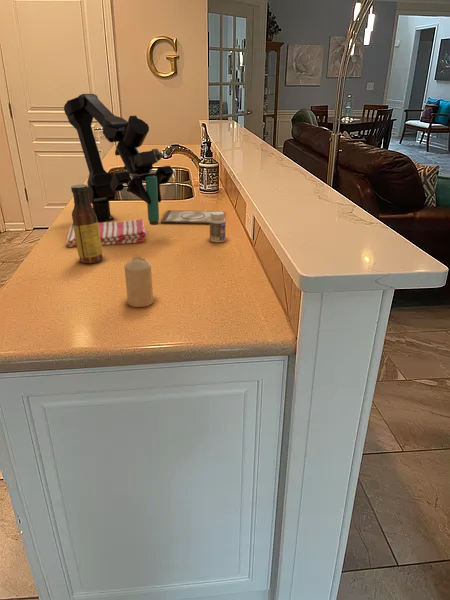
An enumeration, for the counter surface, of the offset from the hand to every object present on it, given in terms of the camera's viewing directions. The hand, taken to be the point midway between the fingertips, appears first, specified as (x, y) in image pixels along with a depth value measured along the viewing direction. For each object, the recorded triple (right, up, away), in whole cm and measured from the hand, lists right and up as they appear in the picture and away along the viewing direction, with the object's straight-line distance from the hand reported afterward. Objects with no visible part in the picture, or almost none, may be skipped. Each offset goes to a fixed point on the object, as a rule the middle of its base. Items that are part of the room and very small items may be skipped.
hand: (155, 202), depth 135 cm
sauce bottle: (-16, -17, -8) cm, 25 cm away
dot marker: (-1, -5, +4) cm, 7 cm away
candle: (+1, -29, -32) cm, 43 cm away
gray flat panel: (+9, +1, +30) cm, 31 cm away
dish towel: (-16, -8, +11) cm, 21 cm away
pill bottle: (+18, -10, +7) cm, 22 cm away
